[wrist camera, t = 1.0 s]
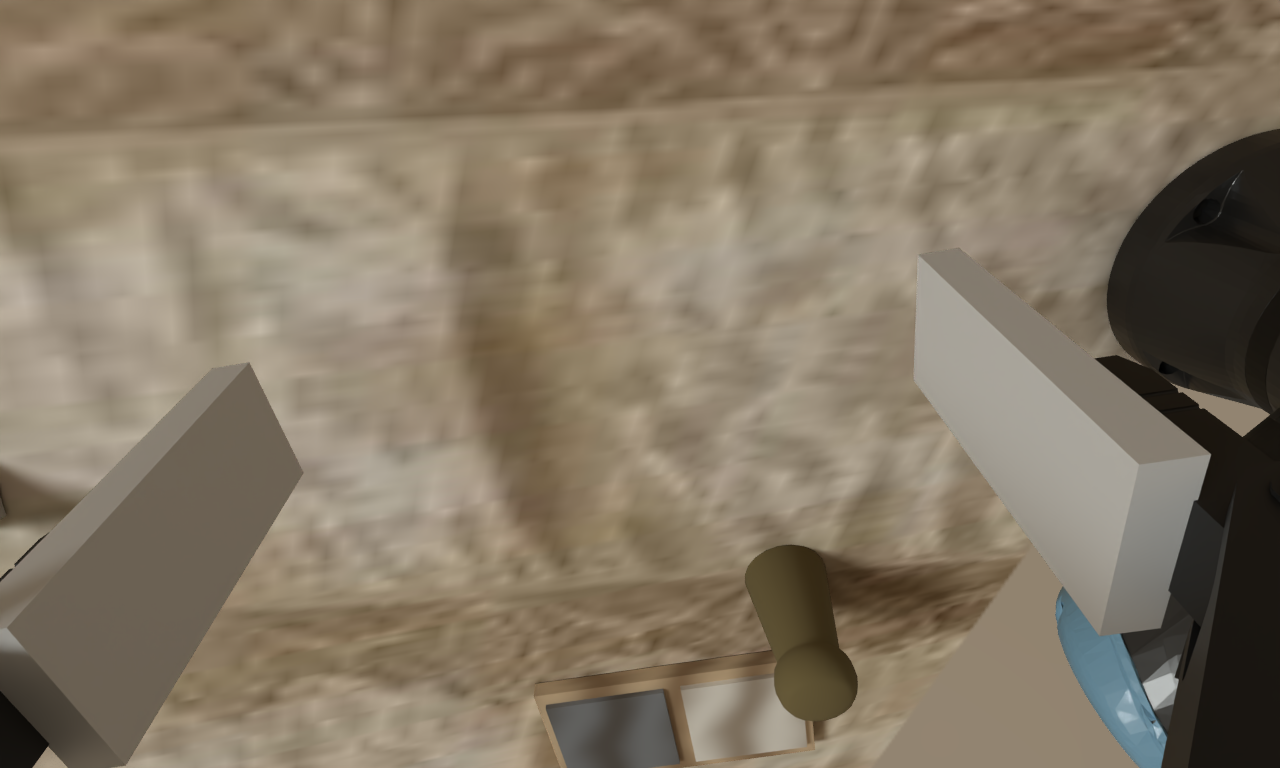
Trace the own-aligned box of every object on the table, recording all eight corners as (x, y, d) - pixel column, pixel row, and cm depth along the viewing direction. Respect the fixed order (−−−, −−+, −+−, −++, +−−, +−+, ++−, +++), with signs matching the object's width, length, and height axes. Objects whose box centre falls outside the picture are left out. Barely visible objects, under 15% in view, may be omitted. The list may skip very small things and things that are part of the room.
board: (804, 645, 58) (809, 662, 57) (811, 737, 64) (815, 754, 63) (535, 683, 59) (533, 700, 58) (567, 769, 65) (566, 787, 64)
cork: (729, 568, 54) (755, 698, 44) (802, 532, 52) (845, 659, 43) (768, 615, 56) (800, 748, 47) (839, 582, 55) (887, 712, 45)
